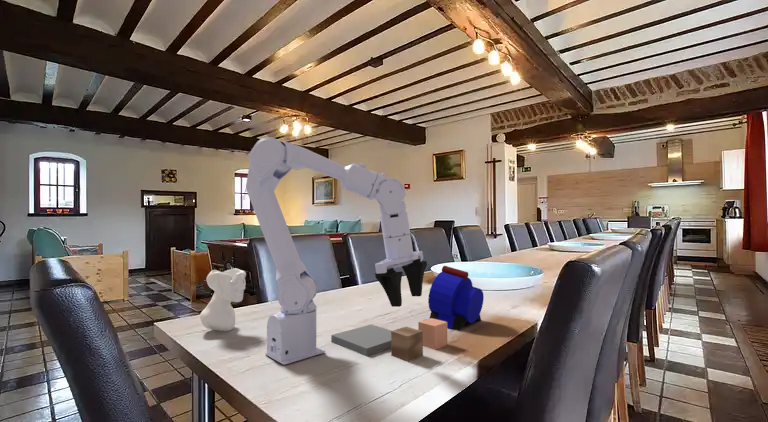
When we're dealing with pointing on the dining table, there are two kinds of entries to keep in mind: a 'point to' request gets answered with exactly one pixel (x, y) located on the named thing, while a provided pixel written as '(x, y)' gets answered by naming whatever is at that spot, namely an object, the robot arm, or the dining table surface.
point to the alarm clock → (454, 298)
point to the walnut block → (407, 343)
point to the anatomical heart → (223, 299)
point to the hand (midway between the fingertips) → (407, 300)
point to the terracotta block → (433, 333)
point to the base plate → (364, 339)
